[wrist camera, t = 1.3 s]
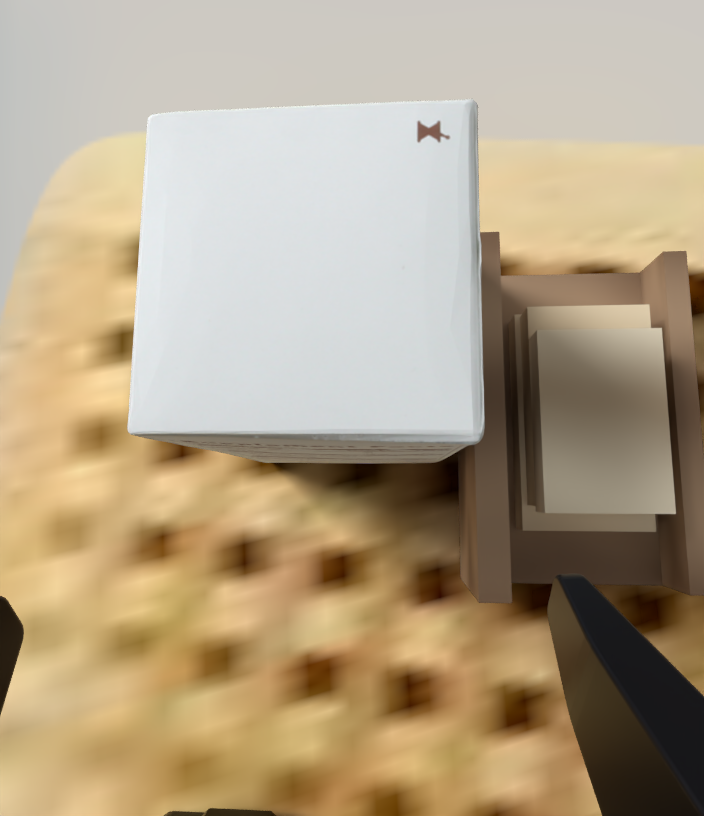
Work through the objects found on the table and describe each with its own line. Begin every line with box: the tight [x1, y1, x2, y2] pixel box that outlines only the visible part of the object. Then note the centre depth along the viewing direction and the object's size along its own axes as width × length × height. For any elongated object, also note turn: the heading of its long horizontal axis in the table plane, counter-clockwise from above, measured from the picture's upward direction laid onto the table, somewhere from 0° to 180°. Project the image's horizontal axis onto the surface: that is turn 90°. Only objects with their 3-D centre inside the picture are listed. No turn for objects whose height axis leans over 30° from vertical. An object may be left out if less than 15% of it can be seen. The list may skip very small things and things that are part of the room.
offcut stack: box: [508, 304, 676, 532], centre depth 20 cm, size 8×5×4 cm, turn 0°
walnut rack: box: [458, 232, 704, 603], centre depth 21 cm, size 12×8×5 cm, turn 0°
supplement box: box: [127, 99, 485, 463], centre depth 18 cm, size 7×7×13 cm
